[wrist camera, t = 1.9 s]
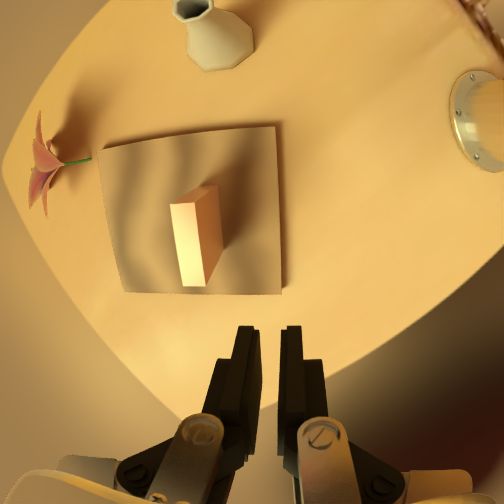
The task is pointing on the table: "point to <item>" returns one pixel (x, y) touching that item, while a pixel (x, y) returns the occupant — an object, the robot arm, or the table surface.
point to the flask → (214, 34)
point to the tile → (197, 234)
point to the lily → (43, 168)
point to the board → (180, 183)
